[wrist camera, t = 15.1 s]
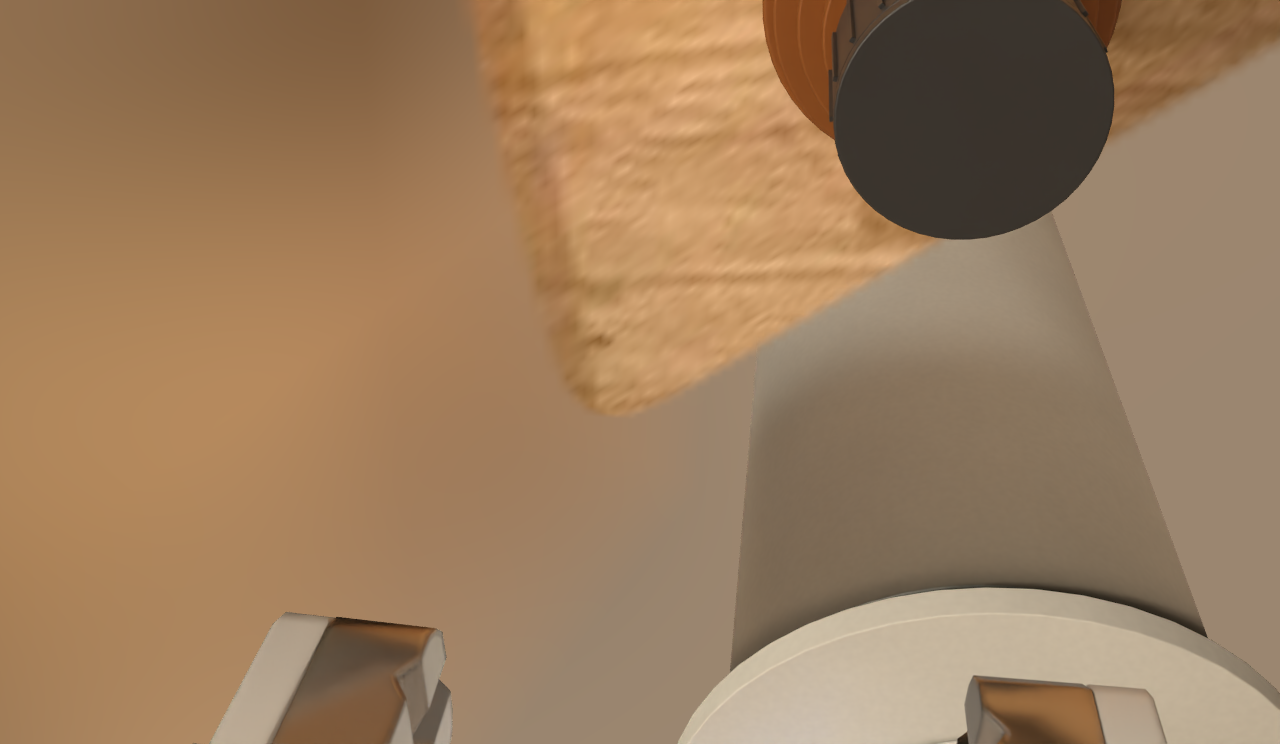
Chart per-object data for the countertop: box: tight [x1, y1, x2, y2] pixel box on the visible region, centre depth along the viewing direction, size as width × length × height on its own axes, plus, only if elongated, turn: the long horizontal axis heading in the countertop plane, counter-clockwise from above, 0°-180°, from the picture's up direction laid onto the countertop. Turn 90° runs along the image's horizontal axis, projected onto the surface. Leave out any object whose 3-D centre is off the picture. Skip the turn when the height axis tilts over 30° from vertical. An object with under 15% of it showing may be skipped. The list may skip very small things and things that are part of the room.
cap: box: [828, 0, 1114, 239], centre depth 19 cm, size 4×4×3 cm
